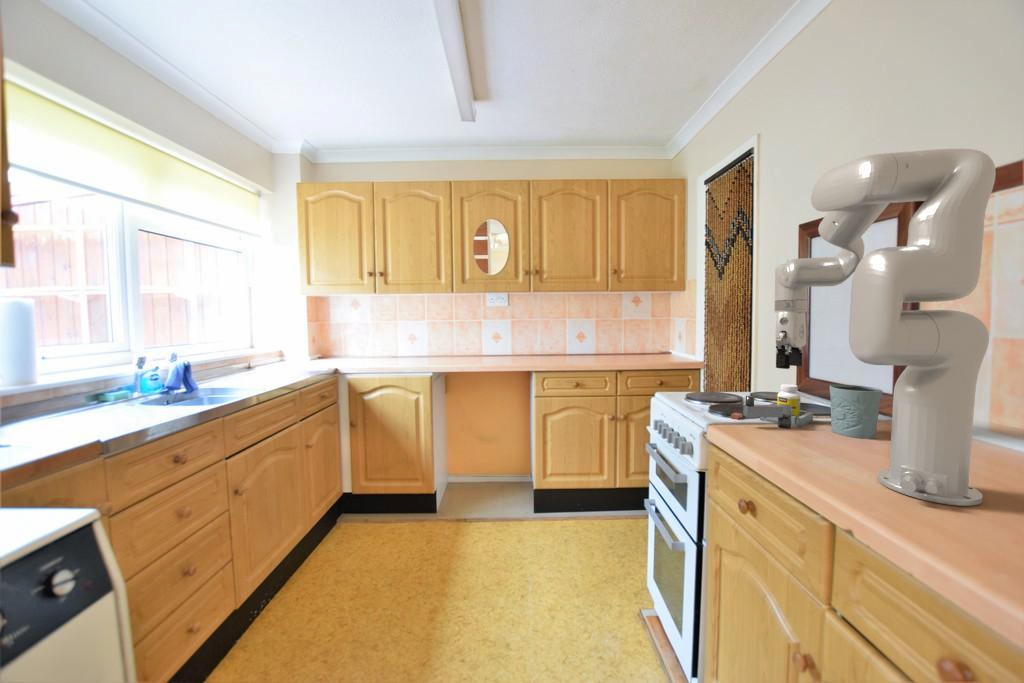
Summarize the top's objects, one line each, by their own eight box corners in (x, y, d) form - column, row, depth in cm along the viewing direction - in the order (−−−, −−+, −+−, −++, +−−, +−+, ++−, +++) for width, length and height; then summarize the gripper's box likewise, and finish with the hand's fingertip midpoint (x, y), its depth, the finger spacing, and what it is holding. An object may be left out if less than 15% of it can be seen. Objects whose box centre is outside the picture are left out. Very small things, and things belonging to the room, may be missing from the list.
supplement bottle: (774, 419, 112) (775, 385, 111) (778, 415, 115) (779, 382, 115) (797, 422, 108) (798, 387, 107) (801, 418, 112) (802, 385, 111)
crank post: (788, 429, 104) (789, 419, 103) (730, 418, 115) (731, 409, 115) (792, 427, 105) (793, 417, 105) (735, 416, 117) (735, 408, 117)
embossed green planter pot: (829, 435, 98) (831, 388, 98) (825, 425, 107) (827, 382, 106) (884, 442, 93) (886, 393, 92) (875, 431, 101) (877, 386, 100)
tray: (801, 427, 105) (801, 418, 105) (760, 419, 113) (760, 411, 113) (812, 420, 111) (813, 412, 111) (773, 414, 119) (773, 406, 119)
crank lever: (786, 414, 107) (787, 395, 107) (794, 417, 104) (794, 397, 104) (742, 414, 108) (742, 395, 107) (748, 417, 105) (748, 397, 104)
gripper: (795, 306, 102) (794, 370, 102) (816, 307, 112) (814, 365, 113) (763, 307, 107) (762, 368, 108) (786, 308, 118) (784, 363, 119)
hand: (789, 367), depth 111 cm, fingers open, 9 cm apart
